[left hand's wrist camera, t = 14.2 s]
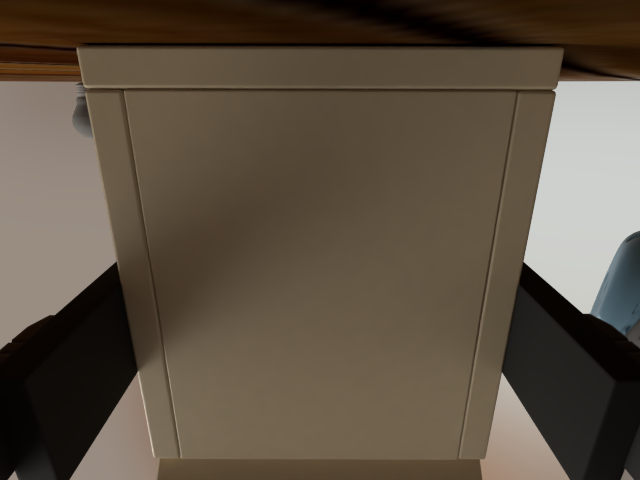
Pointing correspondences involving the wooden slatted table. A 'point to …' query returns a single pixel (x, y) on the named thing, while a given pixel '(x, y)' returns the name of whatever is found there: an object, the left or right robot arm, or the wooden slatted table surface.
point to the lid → (318, 469)
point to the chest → (319, 239)
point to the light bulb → (82, 113)
